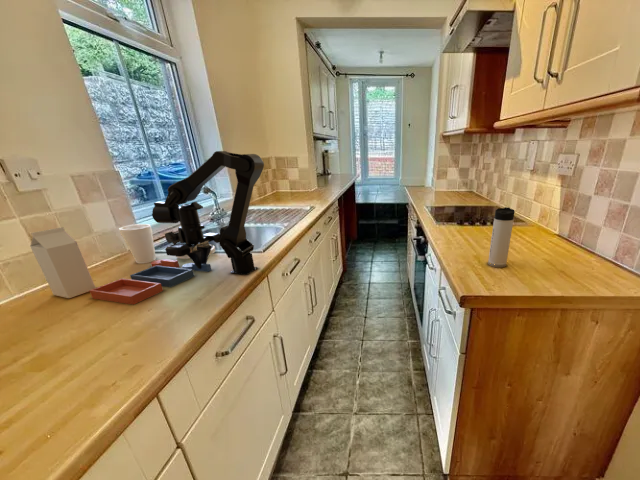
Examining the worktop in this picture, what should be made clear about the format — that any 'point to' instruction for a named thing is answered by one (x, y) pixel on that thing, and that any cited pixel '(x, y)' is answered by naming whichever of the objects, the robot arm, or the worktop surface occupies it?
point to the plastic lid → (190, 258)
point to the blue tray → (164, 275)
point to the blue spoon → (192, 266)
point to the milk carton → (61, 262)
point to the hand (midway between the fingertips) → (201, 267)
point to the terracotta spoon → (166, 263)
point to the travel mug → (501, 237)
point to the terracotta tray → (126, 291)
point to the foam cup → (139, 242)
